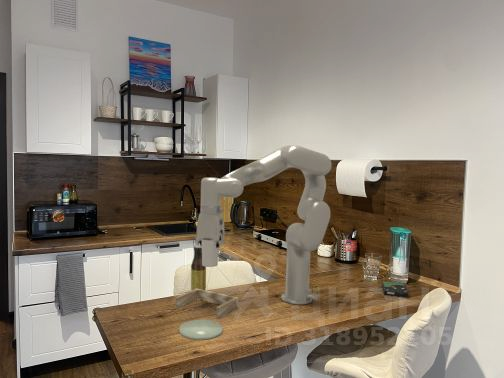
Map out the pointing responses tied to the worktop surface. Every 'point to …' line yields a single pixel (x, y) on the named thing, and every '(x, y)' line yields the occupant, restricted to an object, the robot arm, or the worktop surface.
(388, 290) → the disk drive
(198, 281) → the sauce bottle
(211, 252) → the white coffee cup
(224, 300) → the frame
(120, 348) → the worktop surface
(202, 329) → the disc
